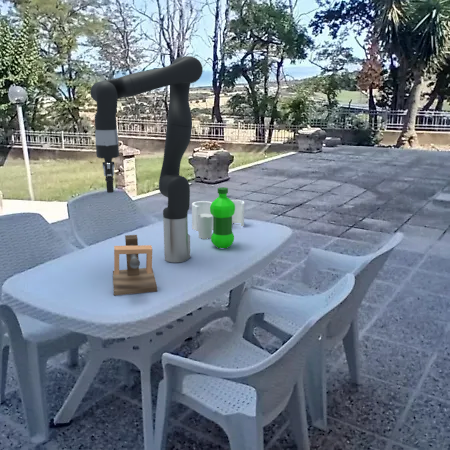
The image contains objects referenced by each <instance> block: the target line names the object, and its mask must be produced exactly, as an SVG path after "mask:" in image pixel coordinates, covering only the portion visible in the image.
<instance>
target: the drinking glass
mask: <svg viewBox="0 0 450 450" xmlns="http://www.w3.org/2000/svg"><path fill="white" fill-rule="evenodd" d="M212 216H213V215H211V214H199V215H198V238H199V239H200V238H202V239H201V240H208V239H207V238H210V239H211V237H212V234H213V231H212Z"/></svg>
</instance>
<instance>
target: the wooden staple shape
mask: <svg viewBox="0 0 450 450" xmlns="http://www.w3.org/2000/svg"><path fill="white" fill-rule="evenodd" d="M113 248H114V249H113V251H114V252H113V265H114V266H113V271H114V274H115V275H119V270H120V255H126V254H138V255H140V254H141V255H142V254H143V255H145V254H146V259H145V260H146V263H145V268H146V271H147V274H152V269H153V246H152V245H150V244H145V245H143V244H142V245H141V244H140V245H139V244H138V245H136V246H126V245H113Z"/></svg>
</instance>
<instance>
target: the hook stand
mask: <svg viewBox="0 0 450 450" xmlns="http://www.w3.org/2000/svg"><path fill="white" fill-rule="evenodd" d="M124 238H125V239H124V241H125V246H136V245H139V243H138V235H137V234H128V235H127V234H126V235H124ZM125 257H126V269H119V275H115V274H114V270H112V287H113V296H122V295H133V294H144V293H153V292H158V284H157V282H156V277H155V273H154V270H153V268H152V274H147V271H146V267H142V268H140V265H141V262H140V260H139V254H125Z"/></svg>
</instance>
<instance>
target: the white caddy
mask: <svg viewBox="0 0 450 450" xmlns="http://www.w3.org/2000/svg"><path fill="white" fill-rule="evenodd" d="M230 200H231V201H232V202H234V204H235V212H234V215H233V216H232V223H241V225H240V227H241V226H244V227H245V201H244V200H240V199H230ZM212 202H213V201H206V200H200V201H199V200H198V201H194V202H192V203H191V224H192V225H191V228H192V230H193V229H194V230H193V231H195V230H196V231H198V215H199V214H211V212H210V206H211V204H212ZM211 215H212V214H211ZM212 230H213V216H212ZM196 231H195V232H196Z"/></svg>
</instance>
